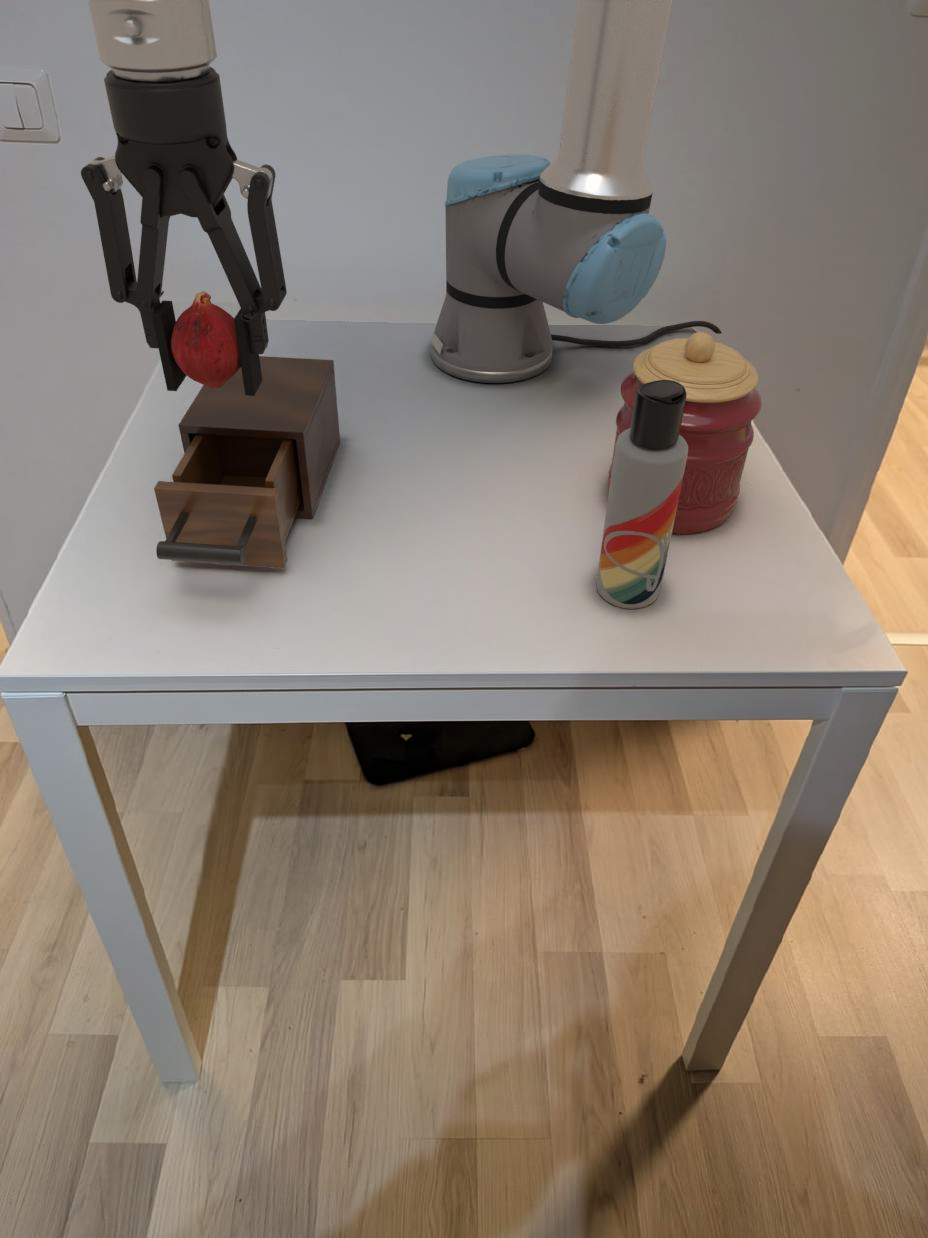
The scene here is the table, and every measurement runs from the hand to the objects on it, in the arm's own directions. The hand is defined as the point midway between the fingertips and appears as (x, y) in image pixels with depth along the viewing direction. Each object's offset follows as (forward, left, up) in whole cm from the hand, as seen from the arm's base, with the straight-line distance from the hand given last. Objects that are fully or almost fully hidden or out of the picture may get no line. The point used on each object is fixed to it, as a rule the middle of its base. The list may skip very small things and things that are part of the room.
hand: (215, 384), depth 77 cm
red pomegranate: (0, 0, 0) cm, 0 cm away
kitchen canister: (-41, -11, -16) cm, 46 cm away
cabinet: (0, -11, -16) cm, 20 cm away
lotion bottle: (-36, +4, -16) cm, 40 cm away
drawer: (0, +1, -15) cm, 15 cm away
